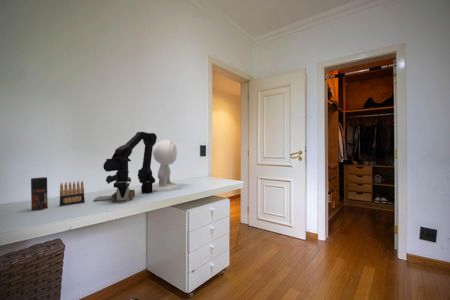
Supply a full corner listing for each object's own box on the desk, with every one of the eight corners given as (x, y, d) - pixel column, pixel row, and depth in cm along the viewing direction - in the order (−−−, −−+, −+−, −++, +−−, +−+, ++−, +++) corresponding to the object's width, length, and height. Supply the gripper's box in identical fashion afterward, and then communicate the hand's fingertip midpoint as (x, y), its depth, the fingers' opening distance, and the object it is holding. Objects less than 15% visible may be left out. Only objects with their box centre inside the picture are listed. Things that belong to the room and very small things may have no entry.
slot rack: (134, 195, 131) (134, 189, 131) (131, 200, 118) (131, 194, 118) (116, 196, 128) (116, 190, 128) (111, 202, 115) (111, 195, 115)
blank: (129, 198, 124) (129, 187, 124) (128, 199, 120) (128, 189, 120) (118, 198, 122) (118, 188, 122) (116, 200, 118) (116, 189, 118)
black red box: (34, 207, 105) (33, 177, 105) (49, 206, 107) (48, 177, 107) (29, 211, 99) (28, 179, 99) (45, 209, 102) (44, 178, 102)
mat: (114, 196, 128) (114, 195, 128) (111, 200, 119) (111, 198, 119) (98, 197, 125) (98, 196, 125) (93, 201, 116) (93, 200, 116)
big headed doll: (176, 190, 144) (176, 139, 144) (143, 190, 145) (142, 139, 144) (183, 185, 164) (182, 140, 164) (153, 185, 165) (153, 140, 164)
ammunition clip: (59, 206, 107) (59, 182, 107) (59, 205, 109) (59, 182, 108) (84, 202, 114) (84, 180, 114) (84, 202, 116) (83, 180, 116)
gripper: (111, 168, 128) (111, 194, 128) (102, 172, 110) (102, 202, 110) (131, 168, 131) (131, 193, 131) (125, 171, 113) (126, 200, 113)
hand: (123, 197), depth 121 cm, fingers closed on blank, 4 cm apart
